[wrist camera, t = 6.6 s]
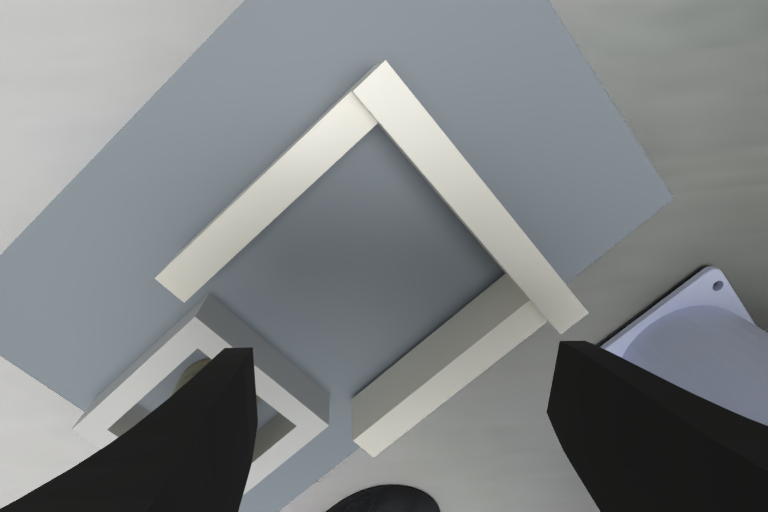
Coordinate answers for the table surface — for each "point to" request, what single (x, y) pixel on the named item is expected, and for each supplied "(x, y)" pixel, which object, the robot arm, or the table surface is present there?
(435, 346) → the frame
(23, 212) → the table surface
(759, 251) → the table surface
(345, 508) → the computer mouse
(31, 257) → the base board
